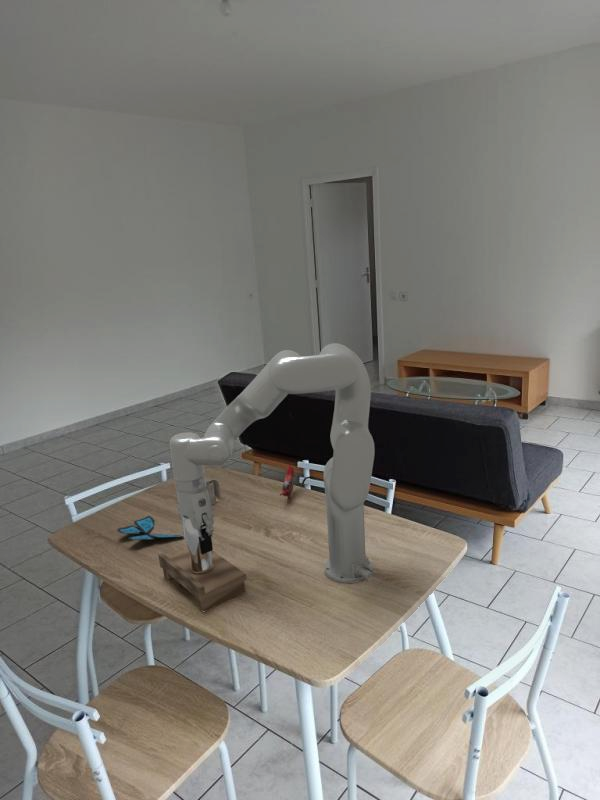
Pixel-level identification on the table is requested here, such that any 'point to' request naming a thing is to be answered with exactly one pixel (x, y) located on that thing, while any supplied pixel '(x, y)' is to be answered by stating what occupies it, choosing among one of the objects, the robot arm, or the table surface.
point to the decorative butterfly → (143, 529)
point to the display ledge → (205, 578)
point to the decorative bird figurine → (288, 483)
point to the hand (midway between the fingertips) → (199, 546)
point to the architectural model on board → (213, 490)
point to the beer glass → (196, 548)
